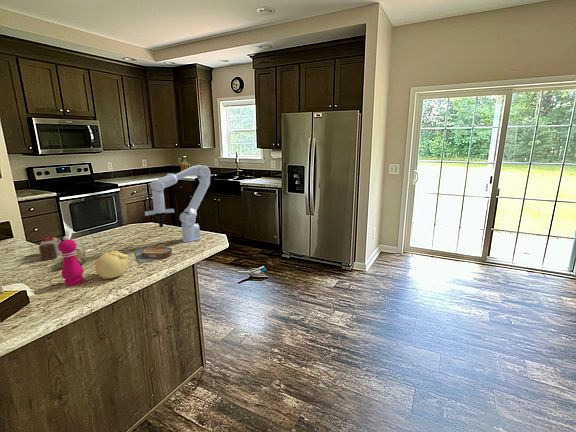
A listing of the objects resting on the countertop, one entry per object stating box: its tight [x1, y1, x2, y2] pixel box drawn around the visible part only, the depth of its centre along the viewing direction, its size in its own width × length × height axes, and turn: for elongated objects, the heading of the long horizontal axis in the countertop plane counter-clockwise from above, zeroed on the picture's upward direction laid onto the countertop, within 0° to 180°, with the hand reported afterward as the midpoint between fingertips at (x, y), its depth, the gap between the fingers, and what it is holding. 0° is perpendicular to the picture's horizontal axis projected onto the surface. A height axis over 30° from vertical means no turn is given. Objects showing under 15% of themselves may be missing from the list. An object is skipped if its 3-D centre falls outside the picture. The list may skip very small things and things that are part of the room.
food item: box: [38, 236, 61, 261], centre depth 153 cm, size 14×8×10 cm, turn 32°
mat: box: [133, 246, 163, 264], centre depth 154 cm, size 10×20×1 cm, turn 32°
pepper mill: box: [58, 235, 85, 287], centre depth 122 cm, size 7×7×20 cm
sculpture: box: [94, 250, 130, 280], centre depth 129 cm, size 12×12×11 cm
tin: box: [141, 246, 173, 259], centre depth 152 cm, size 15×3×8 cm
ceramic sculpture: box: [58, 243, 87, 268], centre depth 143 cm, size 11×9×15 cm
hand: (161, 226), depth 165 cm, fingers closed
